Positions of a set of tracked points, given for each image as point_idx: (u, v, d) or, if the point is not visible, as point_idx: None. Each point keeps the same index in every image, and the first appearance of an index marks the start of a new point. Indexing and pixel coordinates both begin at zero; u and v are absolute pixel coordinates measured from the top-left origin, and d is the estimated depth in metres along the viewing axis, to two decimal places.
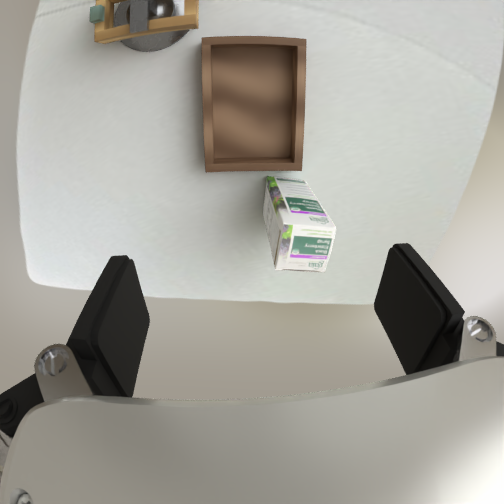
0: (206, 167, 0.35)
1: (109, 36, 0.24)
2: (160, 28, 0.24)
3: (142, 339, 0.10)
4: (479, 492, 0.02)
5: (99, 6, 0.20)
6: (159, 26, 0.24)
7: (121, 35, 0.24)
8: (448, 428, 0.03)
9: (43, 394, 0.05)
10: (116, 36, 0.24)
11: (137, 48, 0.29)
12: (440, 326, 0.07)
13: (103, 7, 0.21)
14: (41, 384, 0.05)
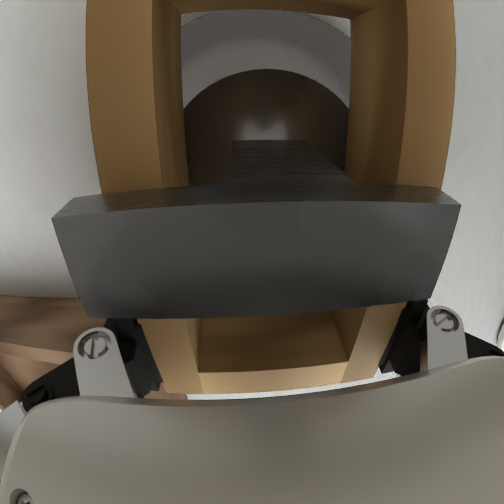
0: None
1: (94, 25, 0.03)
2: None
3: None
4: (479, 492, 0.02)
5: None
6: None
7: None
8: (449, 428, 0.03)
9: (78, 376, 0.05)
10: None
11: None
12: (403, 315, 0.07)
13: None
14: (78, 365, 0.06)
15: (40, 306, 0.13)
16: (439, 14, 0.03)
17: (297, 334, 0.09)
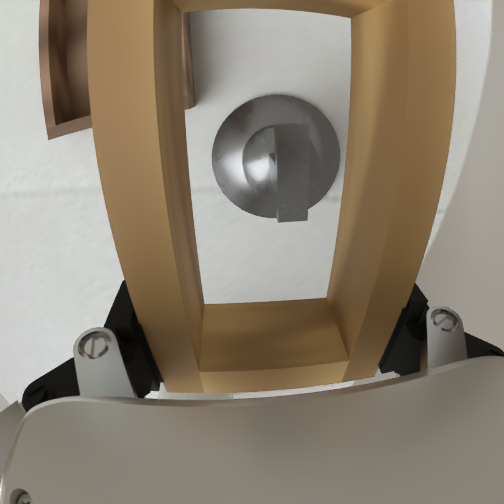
0: None
1: (95, 23, 0.03)
2: None
3: None
4: (479, 492, 0.02)
5: None
6: (137, 303, 0.07)
7: None
8: (448, 428, 0.03)
9: (78, 376, 0.05)
10: None
11: (302, 103, 0.22)
12: (403, 315, 0.07)
13: None
14: (78, 365, 0.06)
15: (188, 29, 0.18)
16: (440, 13, 0.03)
17: (298, 333, 0.09)
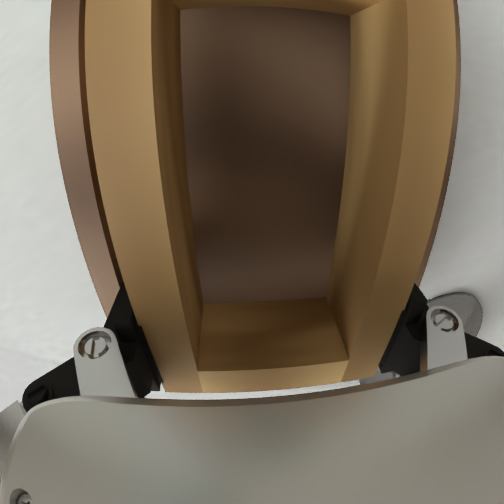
0: None
1: (93, 21, 0.03)
2: None
3: None
4: (479, 492, 0.02)
5: None
6: (135, 302, 0.06)
7: None
8: (448, 428, 0.03)
9: (78, 376, 0.05)
10: None
11: (471, 301, 0.16)
12: (402, 315, 0.07)
13: None
14: (78, 365, 0.06)
15: None
16: (439, 10, 0.03)
17: (298, 332, 0.09)
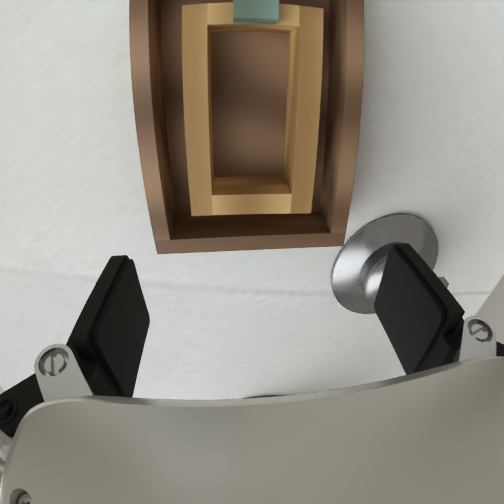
0: None
1: (185, 38, 0.11)
2: None
3: (142, 339, 0.10)
4: (479, 492, 0.02)
5: (273, 18, 0.10)
6: (188, 149, 0.15)
7: None
8: (448, 428, 0.03)
9: (43, 394, 0.05)
10: None
11: (422, 223, 0.22)
12: (440, 326, 0.07)
13: (275, 22, 0.11)
14: (41, 384, 0.05)
15: None
16: (315, 30, 0.11)
17: (265, 185, 0.18)
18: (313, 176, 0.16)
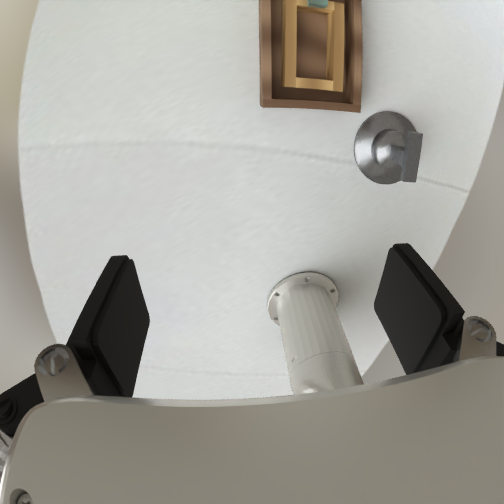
0: None
1: (287, 9, 0.25)
2: (284, 55, 0.28)
3: (142, 339, 0.10)
4: (479, 492, 0.02)
5: (325, 5, 0.23)
6: (286, 54, 0.28)
7: (285, 19, 0.26)
8: (449, 428, 0.03)
9: (43, 394, 0.05)
10: (285, 15, 0.25)
11: (404, 118, 0.35)
12: (440, 326, 0.07)
13: (324, 7, 0.24)
14: (41, 384, 0.05)
15: None
16: (340, 12, 0.25)
17: None
18: (342, 73, 0.29)
